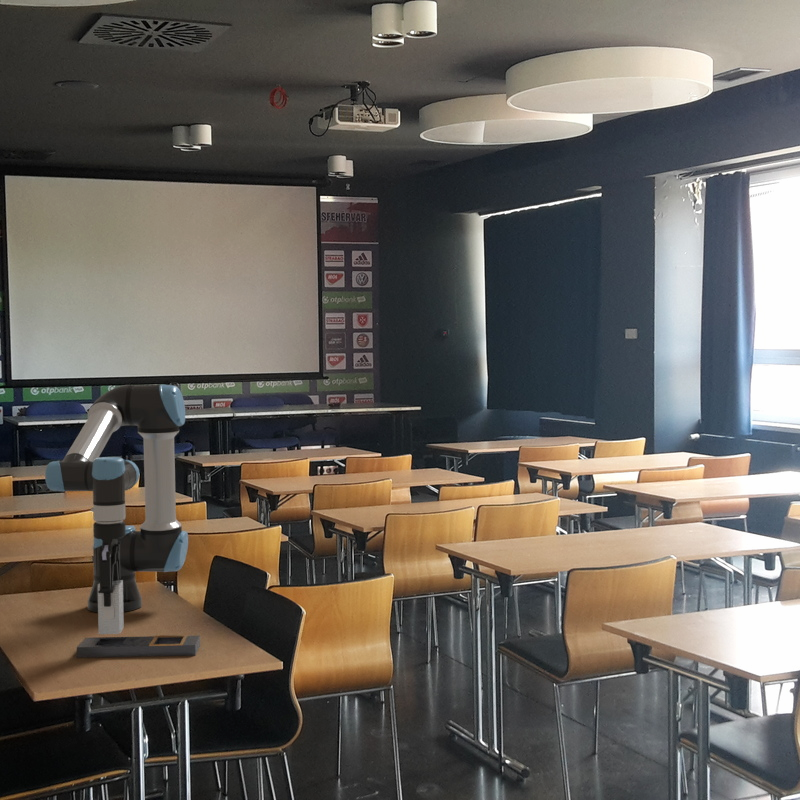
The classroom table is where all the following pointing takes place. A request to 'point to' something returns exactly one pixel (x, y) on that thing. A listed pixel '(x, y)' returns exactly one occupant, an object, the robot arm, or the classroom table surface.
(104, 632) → the square gray post
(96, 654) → the peg insertion base
